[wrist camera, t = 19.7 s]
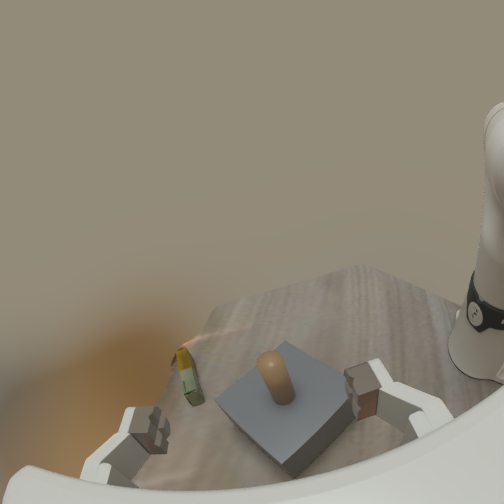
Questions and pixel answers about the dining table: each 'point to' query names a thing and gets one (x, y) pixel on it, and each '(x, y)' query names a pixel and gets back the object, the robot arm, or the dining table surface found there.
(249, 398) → the cover
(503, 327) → the robot arm
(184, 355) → the medication box
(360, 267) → the dining table surface
